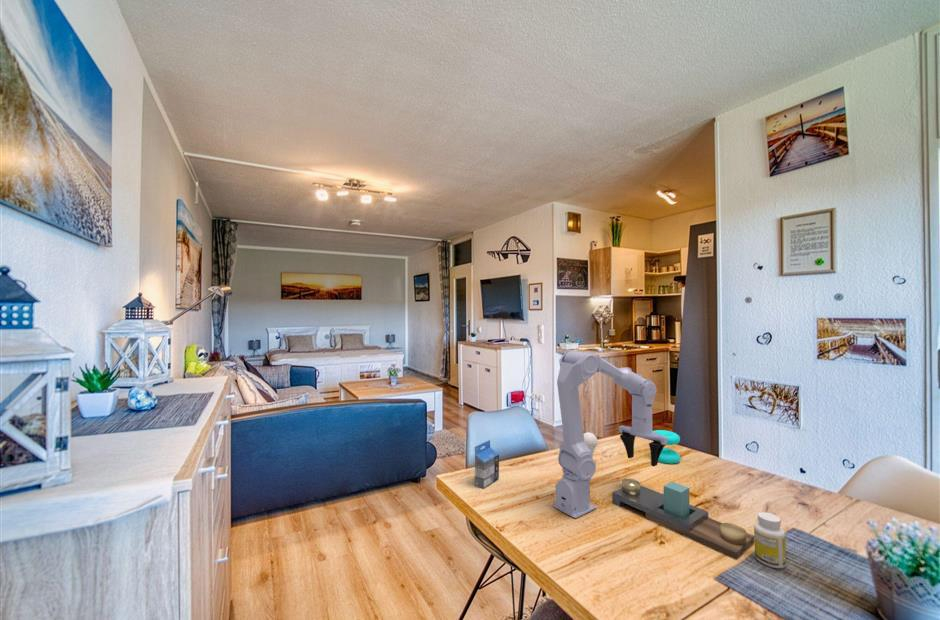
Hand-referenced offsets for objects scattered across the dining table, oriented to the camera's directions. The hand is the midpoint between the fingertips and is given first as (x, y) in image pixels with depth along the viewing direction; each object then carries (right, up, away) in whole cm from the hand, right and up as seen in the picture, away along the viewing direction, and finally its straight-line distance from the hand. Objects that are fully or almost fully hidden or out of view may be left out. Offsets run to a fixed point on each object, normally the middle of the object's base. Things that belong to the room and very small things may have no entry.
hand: (642, 461), depth 115 cm
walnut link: (+5, -9, -20) cm, 23 cm away
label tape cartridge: (-48, -10, +6) cm, 49 cm away
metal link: (-1, -9, -12) cm, 15 cm away
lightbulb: (-9, -10, +23) cm, 27 cm away
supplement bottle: (+13, -9, -32) cm, 36 cm away
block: (+2, -9, -16) cm, 19 cm away
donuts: (+21, -10, +26) cm, 35 cm away
